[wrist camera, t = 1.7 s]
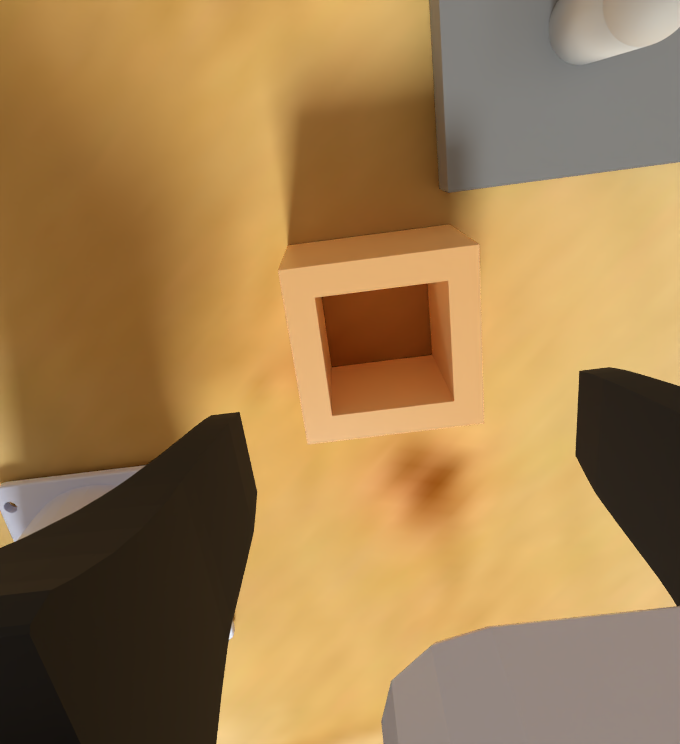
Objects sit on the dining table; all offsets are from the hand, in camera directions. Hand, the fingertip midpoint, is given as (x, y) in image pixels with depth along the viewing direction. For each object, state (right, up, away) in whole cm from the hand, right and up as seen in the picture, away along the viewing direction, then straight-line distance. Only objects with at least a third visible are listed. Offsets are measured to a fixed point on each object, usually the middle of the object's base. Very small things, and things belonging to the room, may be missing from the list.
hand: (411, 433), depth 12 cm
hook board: (+7, +14, +4) cm, 16 cm away
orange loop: (0, +3, +8) cm, 9 cm away
